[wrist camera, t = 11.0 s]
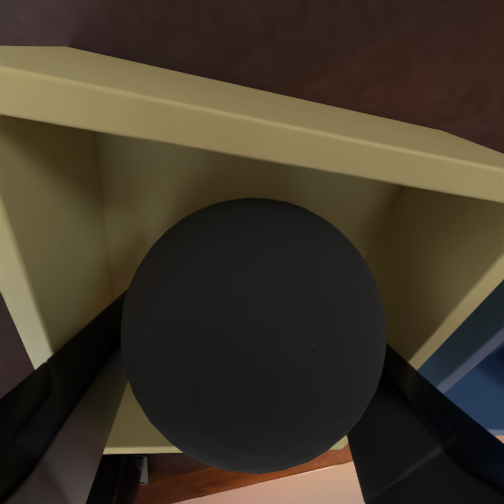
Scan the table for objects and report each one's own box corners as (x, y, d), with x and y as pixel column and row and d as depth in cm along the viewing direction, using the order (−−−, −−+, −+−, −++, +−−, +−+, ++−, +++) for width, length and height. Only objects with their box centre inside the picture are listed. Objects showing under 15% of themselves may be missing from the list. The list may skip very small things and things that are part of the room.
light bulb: (136, 474, 10) (64, 623, 2) (137, 309, 13) (110, 119, 5) (291, 432, 12) (543, 429, 4) (261, 298, 16) (374, 153, 7)
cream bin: (315, 358, 16) (342, 450, 12) (111, 349, 14) (71, 455, 10) (442, 130, 9) (594, 186, 5) (64, 45, 7) (-113, 42, 3)
